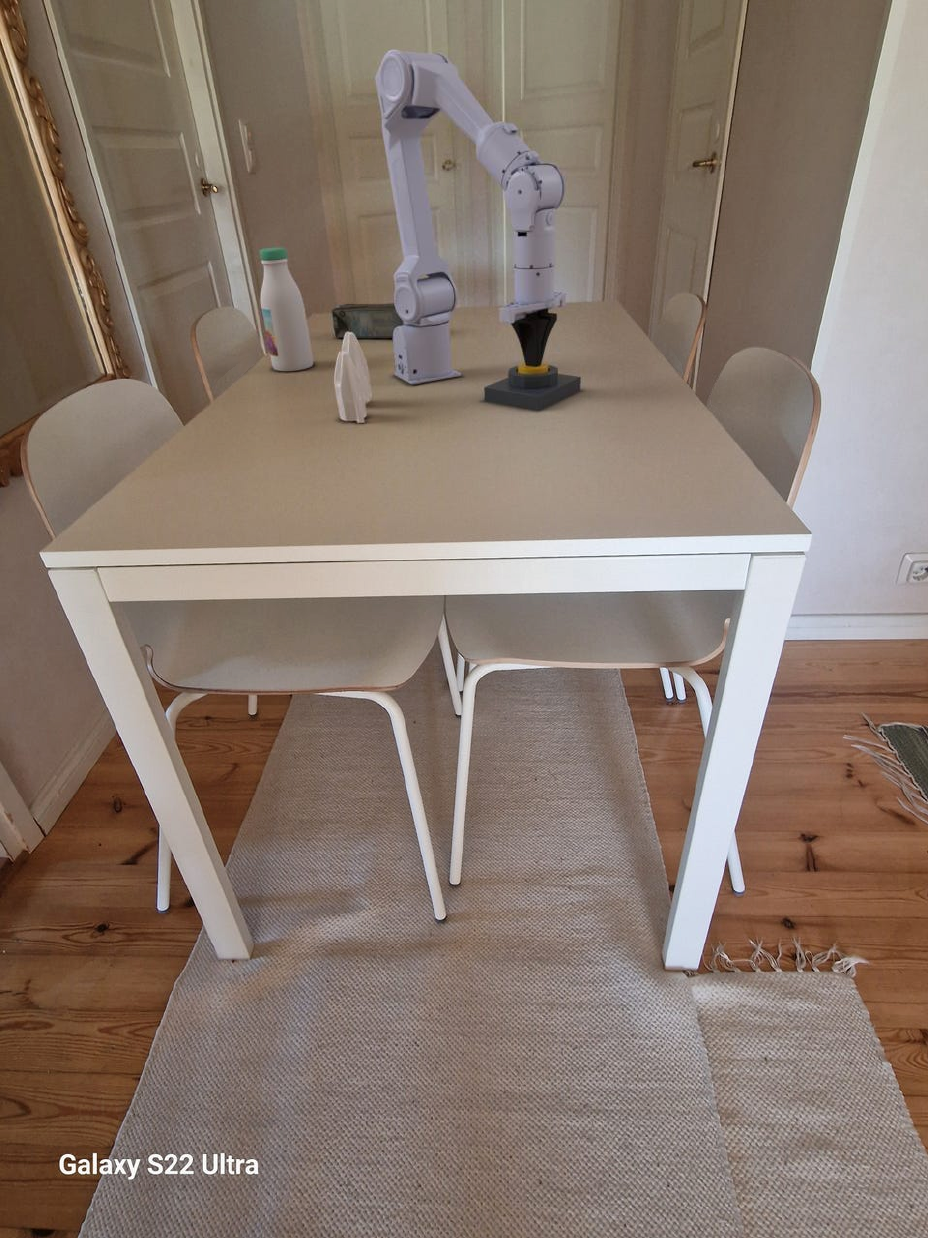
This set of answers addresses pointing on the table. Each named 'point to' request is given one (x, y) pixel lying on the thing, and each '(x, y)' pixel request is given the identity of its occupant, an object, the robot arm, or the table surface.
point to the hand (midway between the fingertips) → (533, 365)
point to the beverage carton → (366, 320)
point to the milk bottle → (284, 314)
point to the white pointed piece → (352, 381)
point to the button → (532, 369)
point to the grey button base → (532, 389)
